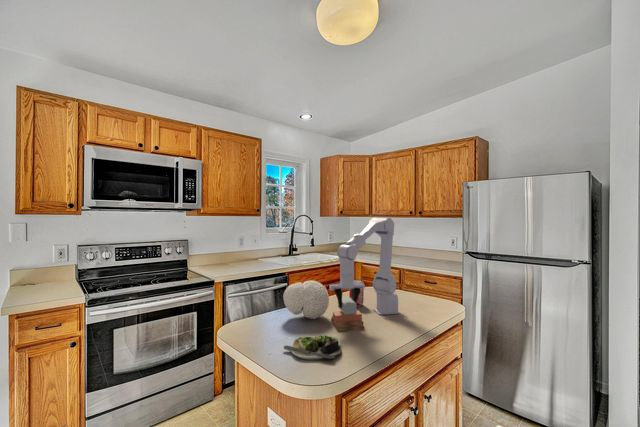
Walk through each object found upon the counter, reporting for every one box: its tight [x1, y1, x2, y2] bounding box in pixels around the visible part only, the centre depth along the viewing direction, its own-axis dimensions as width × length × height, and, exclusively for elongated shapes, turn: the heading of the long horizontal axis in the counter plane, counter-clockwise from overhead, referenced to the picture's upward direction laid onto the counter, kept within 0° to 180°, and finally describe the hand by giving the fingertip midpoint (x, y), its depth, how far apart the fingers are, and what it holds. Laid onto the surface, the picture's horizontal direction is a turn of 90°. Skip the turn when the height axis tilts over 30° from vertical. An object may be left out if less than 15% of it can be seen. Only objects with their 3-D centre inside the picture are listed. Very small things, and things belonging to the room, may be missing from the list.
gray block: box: [337, 296, 357, 315], centre depth 125 cm, size 10×5×4 cm, turn 11°
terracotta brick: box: [332, 310, 363, 326], centre depth 125 cm, size 11×5×4 cm, turn 100°
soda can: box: [348, 279, 365, 308], centre depth 151 cm, size 7×7×12 cm
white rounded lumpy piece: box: [282, 279, 330, 320], centre depth 132 cm, size 20×18×16 cm
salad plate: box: [283, 334, 342, 361], centre depth 102 cm, size 19×18×5 cm
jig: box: [330, 315, 366, 332], centre depth 125 cm, size 11×12×2 cm
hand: (347, 306), depth 125 cm, fingers closed on gray block, 5 cm apart
